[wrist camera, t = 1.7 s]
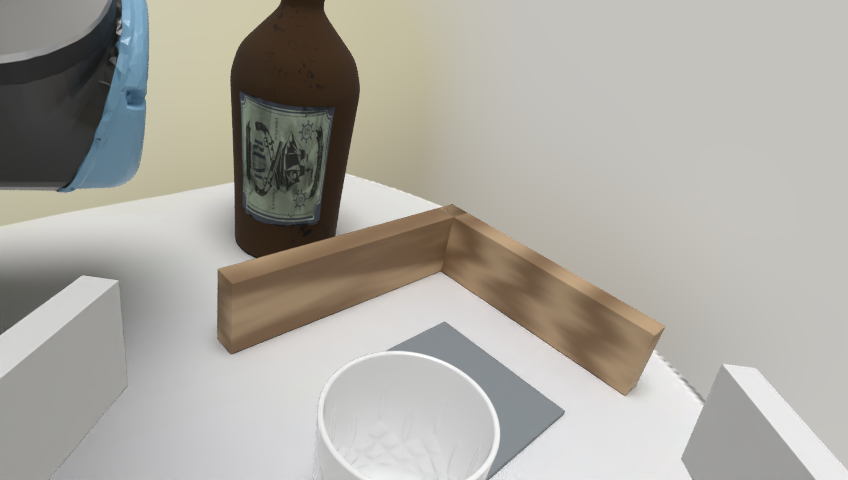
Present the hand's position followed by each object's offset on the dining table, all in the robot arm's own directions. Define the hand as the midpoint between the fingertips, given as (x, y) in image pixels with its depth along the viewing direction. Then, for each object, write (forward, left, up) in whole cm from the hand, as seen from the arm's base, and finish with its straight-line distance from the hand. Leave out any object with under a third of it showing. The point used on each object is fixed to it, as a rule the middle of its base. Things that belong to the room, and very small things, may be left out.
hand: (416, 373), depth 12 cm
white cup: (-4, +6, -19) cm, 21 cm away
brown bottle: (-33, +19, -19) cm, 43 cm away
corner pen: (-12, +19, -19) cm, 30 cm away
